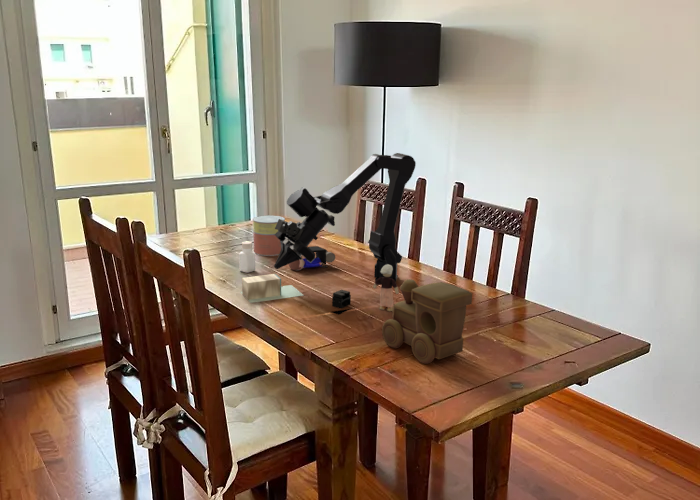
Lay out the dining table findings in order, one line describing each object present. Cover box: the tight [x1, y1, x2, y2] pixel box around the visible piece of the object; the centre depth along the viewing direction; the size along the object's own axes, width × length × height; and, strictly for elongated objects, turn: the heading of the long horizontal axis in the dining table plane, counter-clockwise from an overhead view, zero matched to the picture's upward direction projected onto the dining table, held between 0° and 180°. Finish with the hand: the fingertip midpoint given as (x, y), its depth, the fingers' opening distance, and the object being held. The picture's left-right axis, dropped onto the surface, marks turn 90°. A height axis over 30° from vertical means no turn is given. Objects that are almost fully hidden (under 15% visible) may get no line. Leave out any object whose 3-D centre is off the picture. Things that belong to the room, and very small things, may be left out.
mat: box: [239, 284, 304, 304], centre depth 189 cm, size 16×10×1 cm, turn 116°
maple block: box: [241, 273, 282, 301], centre depth 187 cm, size 5×5×10 cm
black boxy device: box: [330, 289, 353, 316], centre depth 181 cm, size 13×8×5 cm, turn 144°
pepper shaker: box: [238, 240, 257, 274], centre depth 210 cm, size 4×4×10 cm
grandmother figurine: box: [372, 264, 400, 312], centre depth 179 cm, size 8×4×13 cm, turn 71°
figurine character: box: [288, 245, 336, 271], centre depth 215 cm, size 7×8×15 cm
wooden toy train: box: [381, 279, 473, 365], centre depth 152 cm, size 20×11×17 cm, turn 38°
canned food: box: [252, 214, 286, 257], centre depth 232 cm, size 11×11×12 cm
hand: (275, 267), depth 187 cm, fingers closed
